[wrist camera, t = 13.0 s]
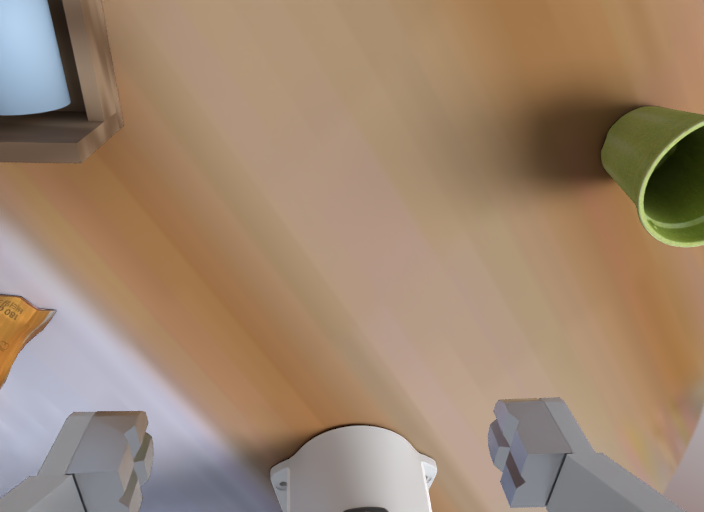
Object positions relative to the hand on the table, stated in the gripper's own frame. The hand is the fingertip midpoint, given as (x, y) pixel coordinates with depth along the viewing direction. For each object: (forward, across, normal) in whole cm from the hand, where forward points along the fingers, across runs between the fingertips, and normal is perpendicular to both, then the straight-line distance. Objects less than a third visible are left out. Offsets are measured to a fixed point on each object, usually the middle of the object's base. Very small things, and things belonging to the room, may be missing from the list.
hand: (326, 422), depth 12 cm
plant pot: (+29, +26, -2) cm, 39 cm away
